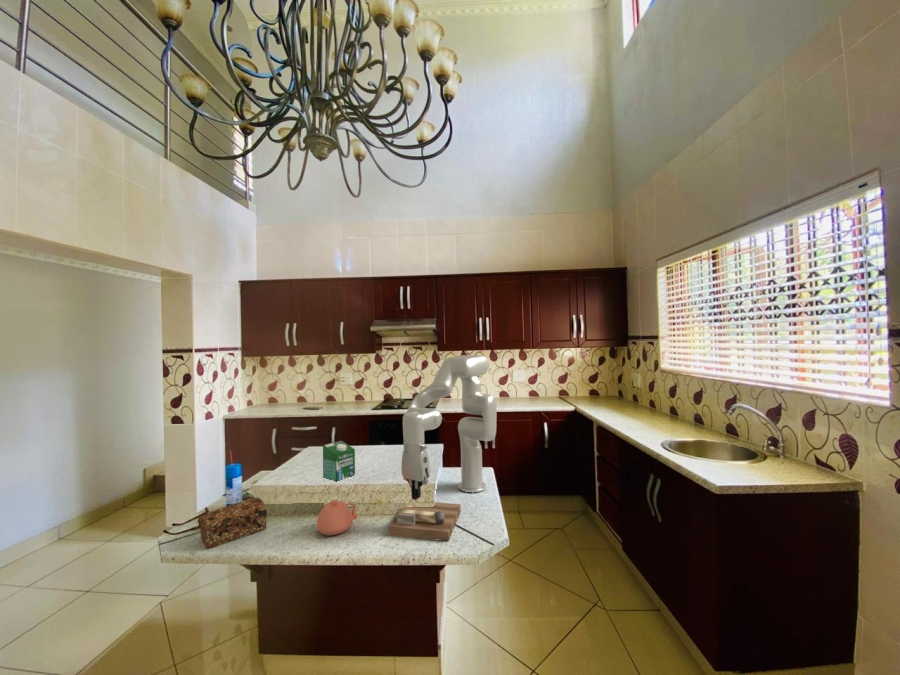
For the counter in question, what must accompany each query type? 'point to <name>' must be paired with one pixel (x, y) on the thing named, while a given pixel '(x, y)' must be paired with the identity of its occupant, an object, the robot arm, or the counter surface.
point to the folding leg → (425, 516)
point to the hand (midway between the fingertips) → (416, 497)
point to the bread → (233, 522)
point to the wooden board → (426, 523)
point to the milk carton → (338, 461)
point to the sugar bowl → (335, 517)
